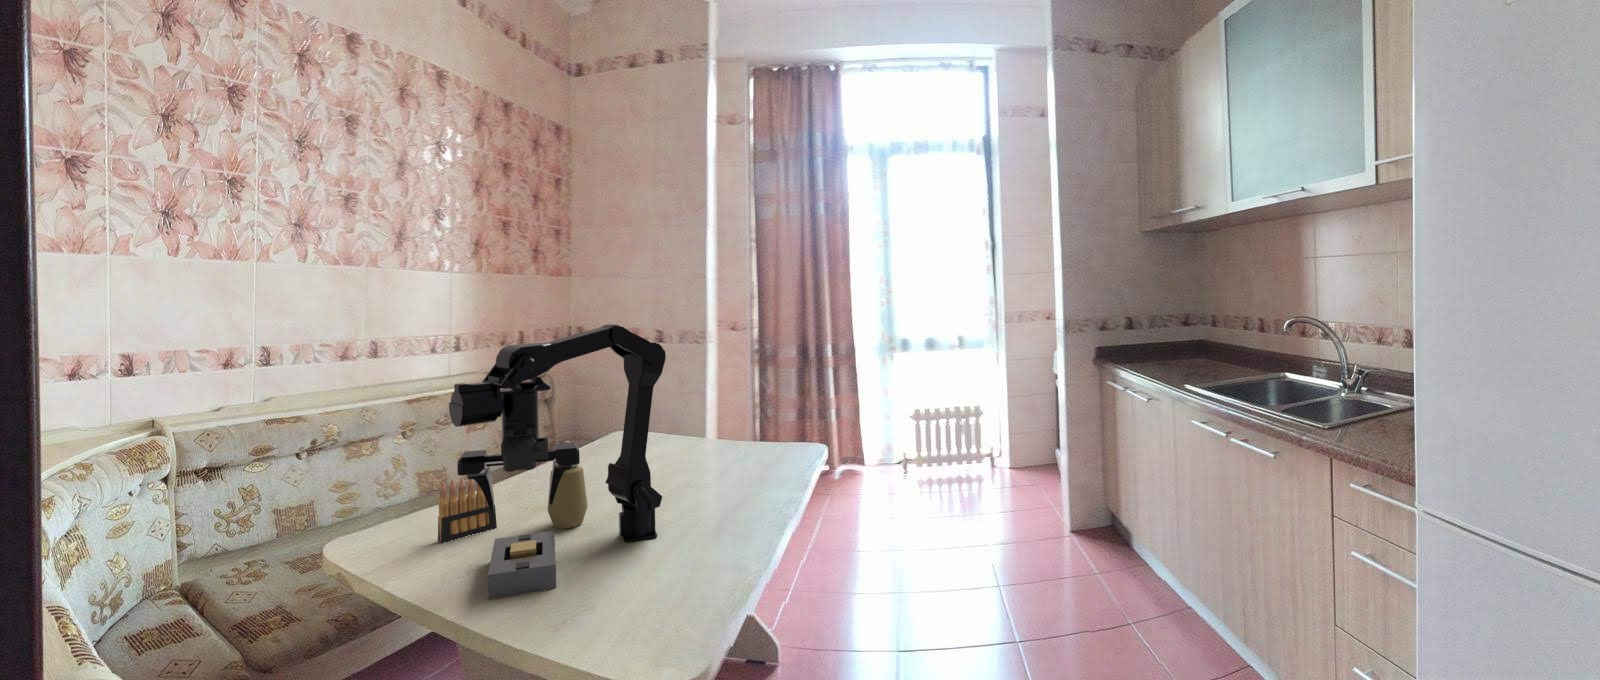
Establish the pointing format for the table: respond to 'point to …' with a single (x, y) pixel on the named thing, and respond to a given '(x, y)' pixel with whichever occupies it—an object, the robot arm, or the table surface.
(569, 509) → the squeeze bottle
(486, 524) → the ammunition clip
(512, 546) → the tan wooden block
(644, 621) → the table surface
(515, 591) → the grey socket block
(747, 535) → the table surface
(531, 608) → the table surface
